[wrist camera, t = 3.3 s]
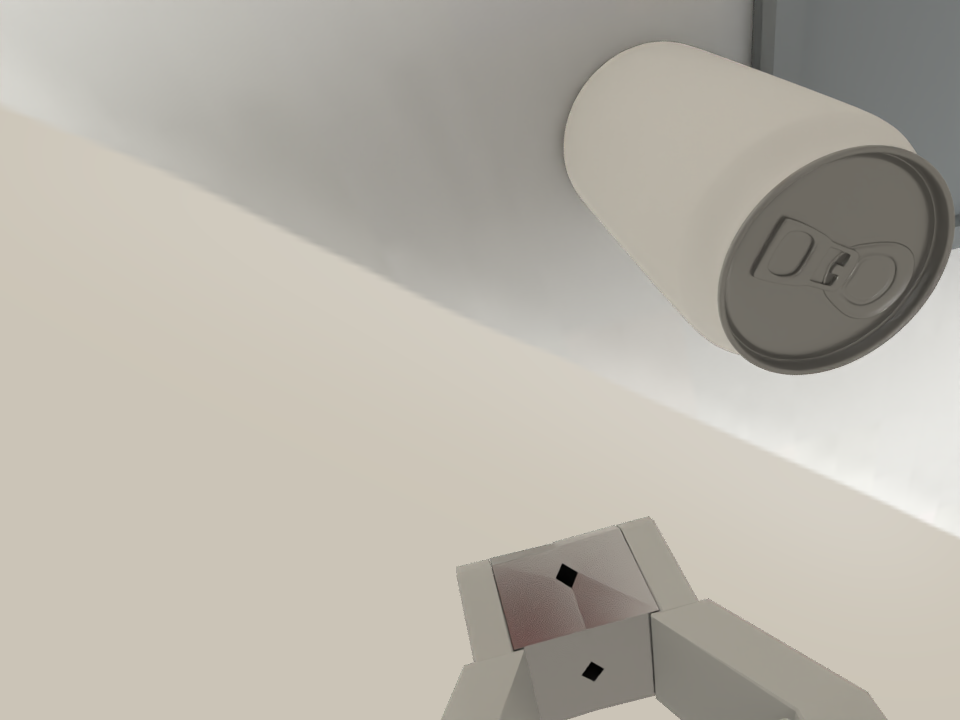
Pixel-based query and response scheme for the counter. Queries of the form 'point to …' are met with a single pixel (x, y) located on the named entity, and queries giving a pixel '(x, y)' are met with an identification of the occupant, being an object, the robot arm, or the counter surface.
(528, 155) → the counter surface
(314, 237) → the counter surface
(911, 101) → the tray
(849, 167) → the can
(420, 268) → the counter surface
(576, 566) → the robot arm
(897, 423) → the counter surface
